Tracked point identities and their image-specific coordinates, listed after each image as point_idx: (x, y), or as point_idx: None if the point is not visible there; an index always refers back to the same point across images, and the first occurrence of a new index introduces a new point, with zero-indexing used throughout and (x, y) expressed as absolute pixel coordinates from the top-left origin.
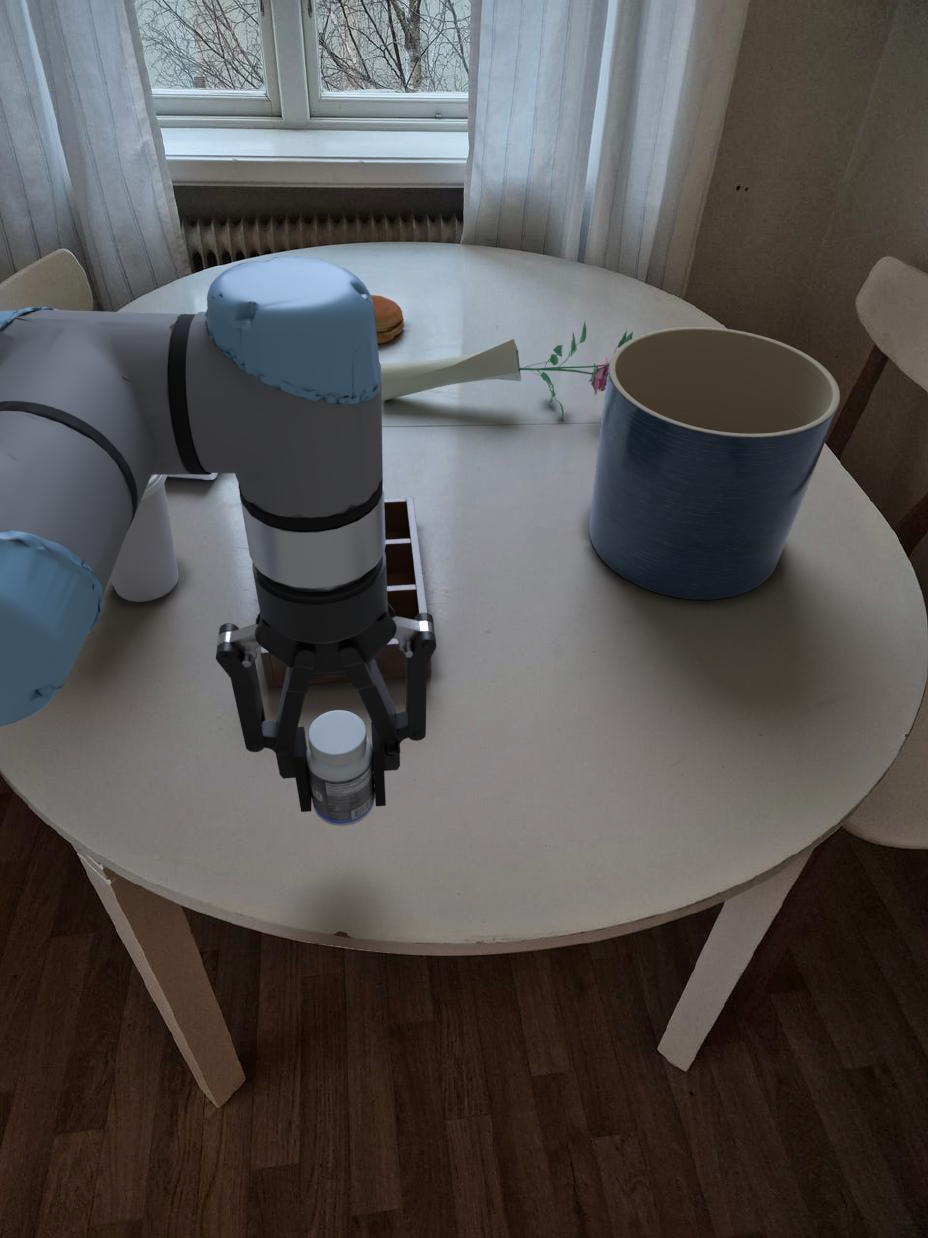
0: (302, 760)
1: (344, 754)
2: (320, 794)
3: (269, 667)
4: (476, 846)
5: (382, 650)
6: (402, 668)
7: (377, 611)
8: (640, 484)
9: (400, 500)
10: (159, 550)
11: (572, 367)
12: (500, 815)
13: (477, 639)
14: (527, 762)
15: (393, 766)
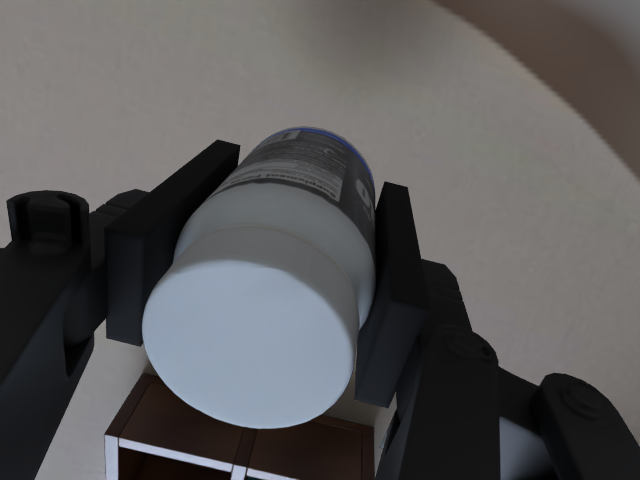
0: (395, 290)
1: (234, 255)
2: (358, 192)
3: (365, 463)
4: (108, 60)
5: (188, 441)
6: (175, 398)
7: None
8: None
9: None
10: None
11: None
12: (60, 107)
13: (70, 402)
14: (8, 191)
15: (138, 198)
